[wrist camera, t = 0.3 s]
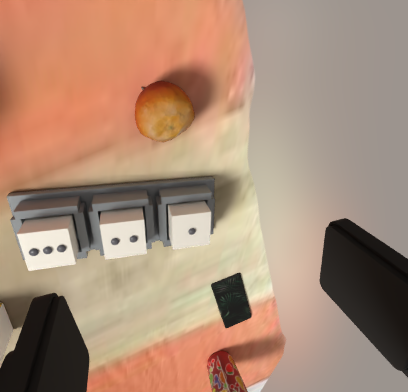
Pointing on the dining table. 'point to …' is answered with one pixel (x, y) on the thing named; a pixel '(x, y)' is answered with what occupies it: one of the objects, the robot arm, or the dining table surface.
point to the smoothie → (224, 373)
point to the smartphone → (231, 300)
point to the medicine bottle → (4, 330)
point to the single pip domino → (189, 224)
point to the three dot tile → (49, 241)
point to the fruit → (163, 111)
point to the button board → (112, 207)
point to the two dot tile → (123, 232)
